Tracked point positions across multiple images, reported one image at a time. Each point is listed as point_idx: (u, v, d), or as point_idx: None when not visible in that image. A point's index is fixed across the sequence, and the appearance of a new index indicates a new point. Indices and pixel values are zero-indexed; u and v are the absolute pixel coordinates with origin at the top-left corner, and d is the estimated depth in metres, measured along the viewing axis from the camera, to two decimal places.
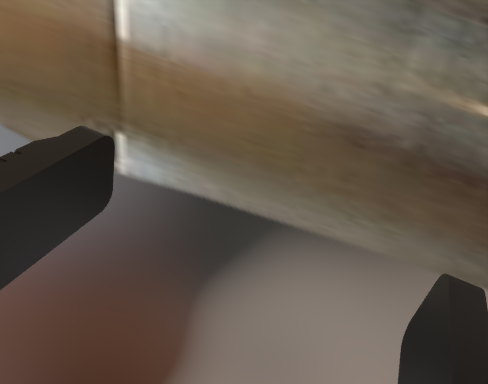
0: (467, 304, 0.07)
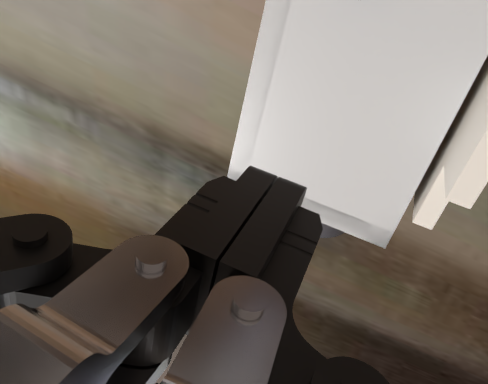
0: (284, 194, 0.09)
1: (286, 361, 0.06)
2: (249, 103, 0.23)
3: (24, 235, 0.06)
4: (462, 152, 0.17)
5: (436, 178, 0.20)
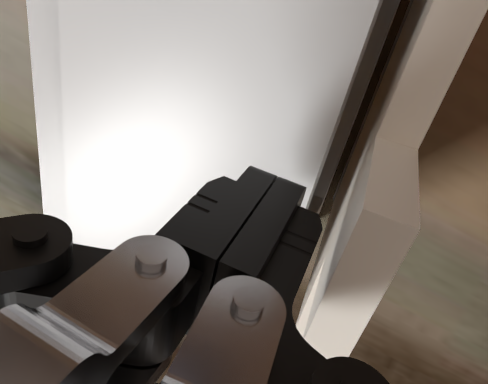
0: (283, 193, 0.09)
1: (286, 361, 0.06)
2: (45, 141, 0.15)
3: (24, 235, 0.06)
4: (332, 257, 0.10)
5: (318, 274, 0.13)
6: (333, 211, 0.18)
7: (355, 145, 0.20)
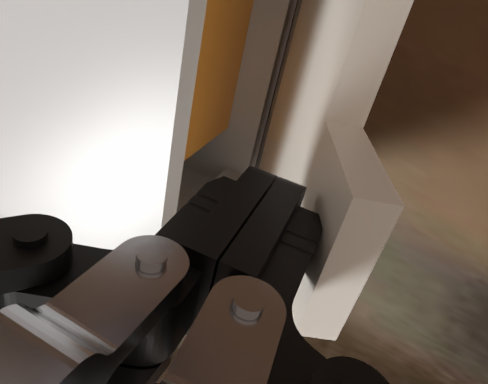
0: (283, 193, 0.09)
1: (286, 361, 0.06)
2: None
3: (24, 235, 0.06)
4: None
5: None
6: None
7: (269, 123, 0.20)
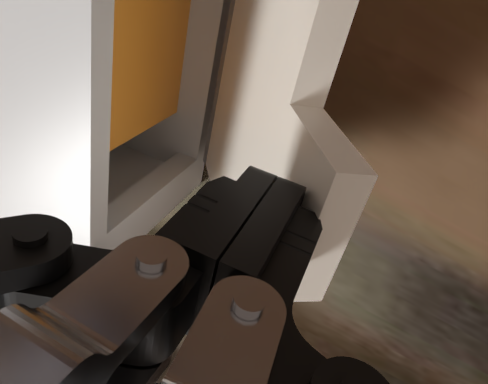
0: (283, 193, 0.09)
1: (285, 361, 0.06)
2: None
3: (24, 235, 0.06)
4: None
5: None
6: (221, 174, 0.19)
7: (215, 107, 0.21)
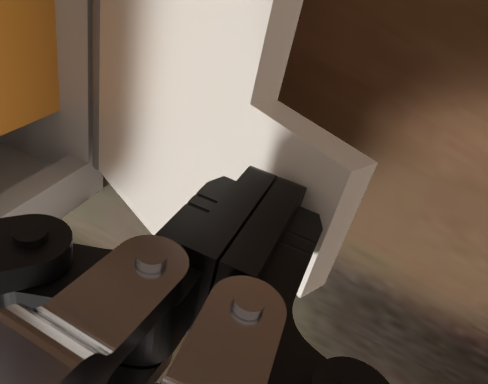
0: (283, 194, 0.09)
1: (286, 361, 0.06)
2: None
3: (24, 235, 0.06)
4: None
5: None
6: (136, 180, 0.17)
7: (98, 107, 0.18)
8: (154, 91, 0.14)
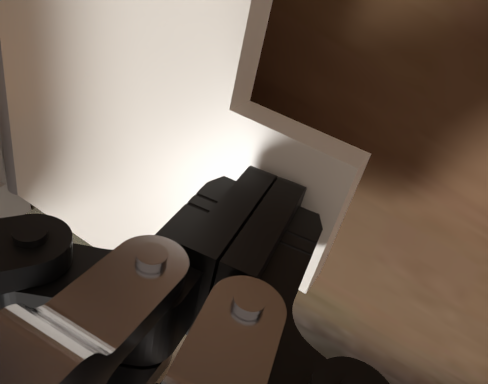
0: (284, 193, 0.09)
1: (286, 361, 0.06)
2: None
3: (24, 235, 0.06)
4: None
5: None
6: (76, 201, 0.15)
7: (9, 123, 0.16)
8: (93, 102, 0.13)
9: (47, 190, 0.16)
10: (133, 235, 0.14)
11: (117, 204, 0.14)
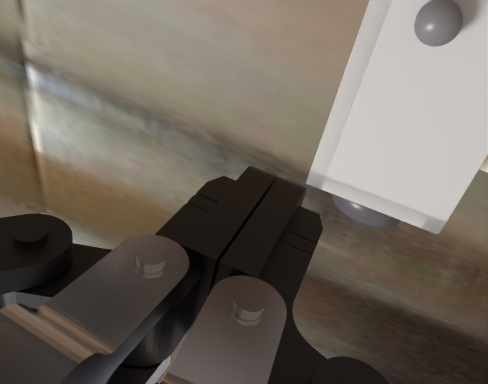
0: (283, 194, 0.09)
1: (286, 361, 0.06)
2: (333, 119, 0.29)
3: (24, 235, 0.06)
4: None
5: None
6: None
7: None
8: None
9: None
10: None
11: None
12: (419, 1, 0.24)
